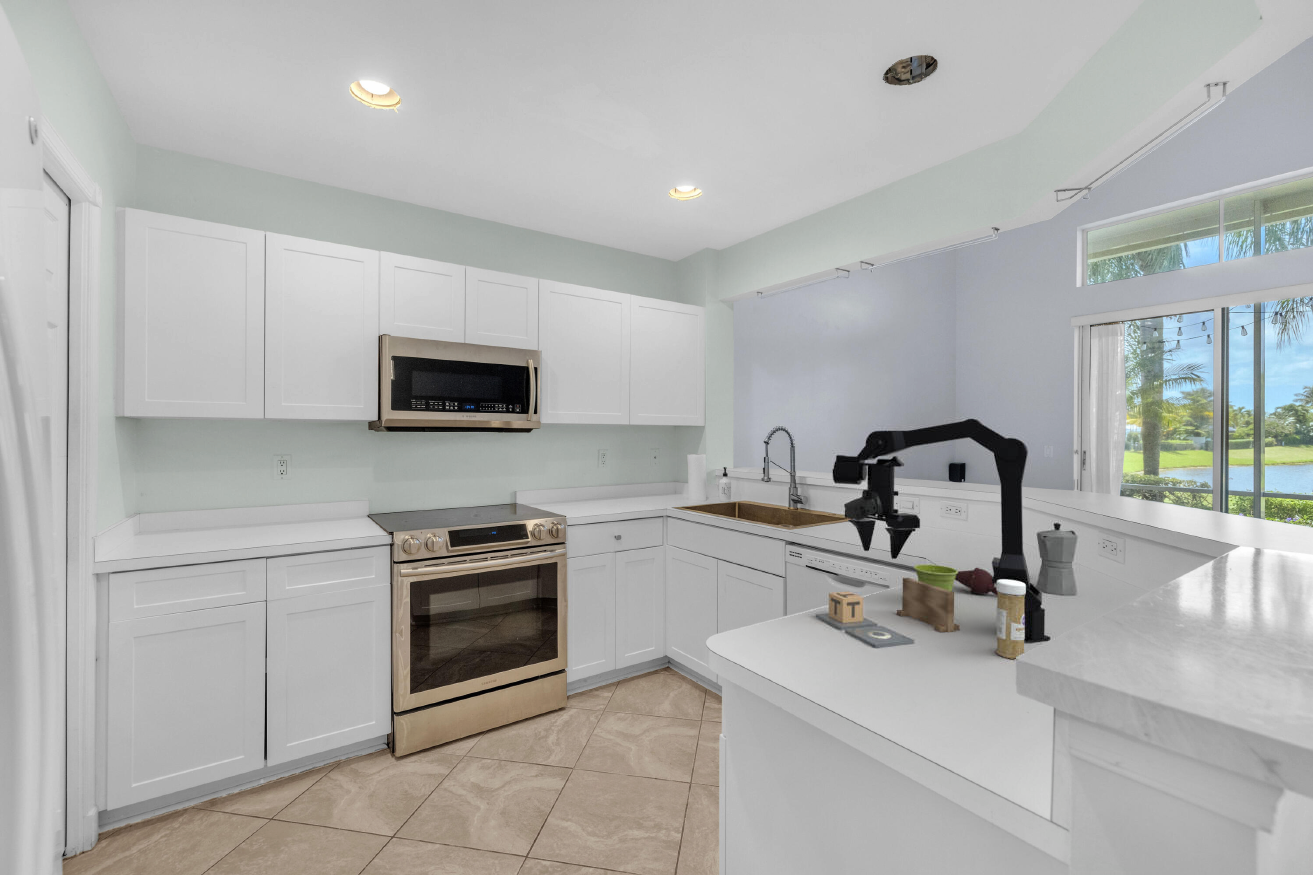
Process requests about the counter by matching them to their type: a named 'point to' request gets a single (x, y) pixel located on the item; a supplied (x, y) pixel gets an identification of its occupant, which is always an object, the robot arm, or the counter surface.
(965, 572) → the dark red bulbous piece
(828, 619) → the tile
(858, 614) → the letter cube
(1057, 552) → the coffeepot
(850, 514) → the robot arm
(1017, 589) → the sprinkles bottle
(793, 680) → the counter surface
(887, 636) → the tile
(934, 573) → the plant pot
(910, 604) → the screen
